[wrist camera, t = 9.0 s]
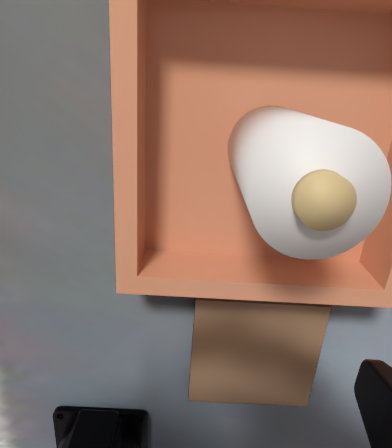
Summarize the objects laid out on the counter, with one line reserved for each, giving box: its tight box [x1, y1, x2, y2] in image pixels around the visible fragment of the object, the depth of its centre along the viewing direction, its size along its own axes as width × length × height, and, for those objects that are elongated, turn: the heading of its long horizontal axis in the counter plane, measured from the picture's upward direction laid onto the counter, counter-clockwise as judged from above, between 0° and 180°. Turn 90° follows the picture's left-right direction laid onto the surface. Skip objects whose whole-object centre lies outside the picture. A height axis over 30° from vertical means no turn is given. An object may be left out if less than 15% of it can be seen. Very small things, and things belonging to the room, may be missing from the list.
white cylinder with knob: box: [227, 105, 392, 260], centre depth 14 cm, size 4×4×9 cm
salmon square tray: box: [109, 0, 392, 308], centre depth 16 cm, size 14×14×4 cm
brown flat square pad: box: [188, 297, 332, 406], centre depth 23 cm, size 8×8×1 cm
